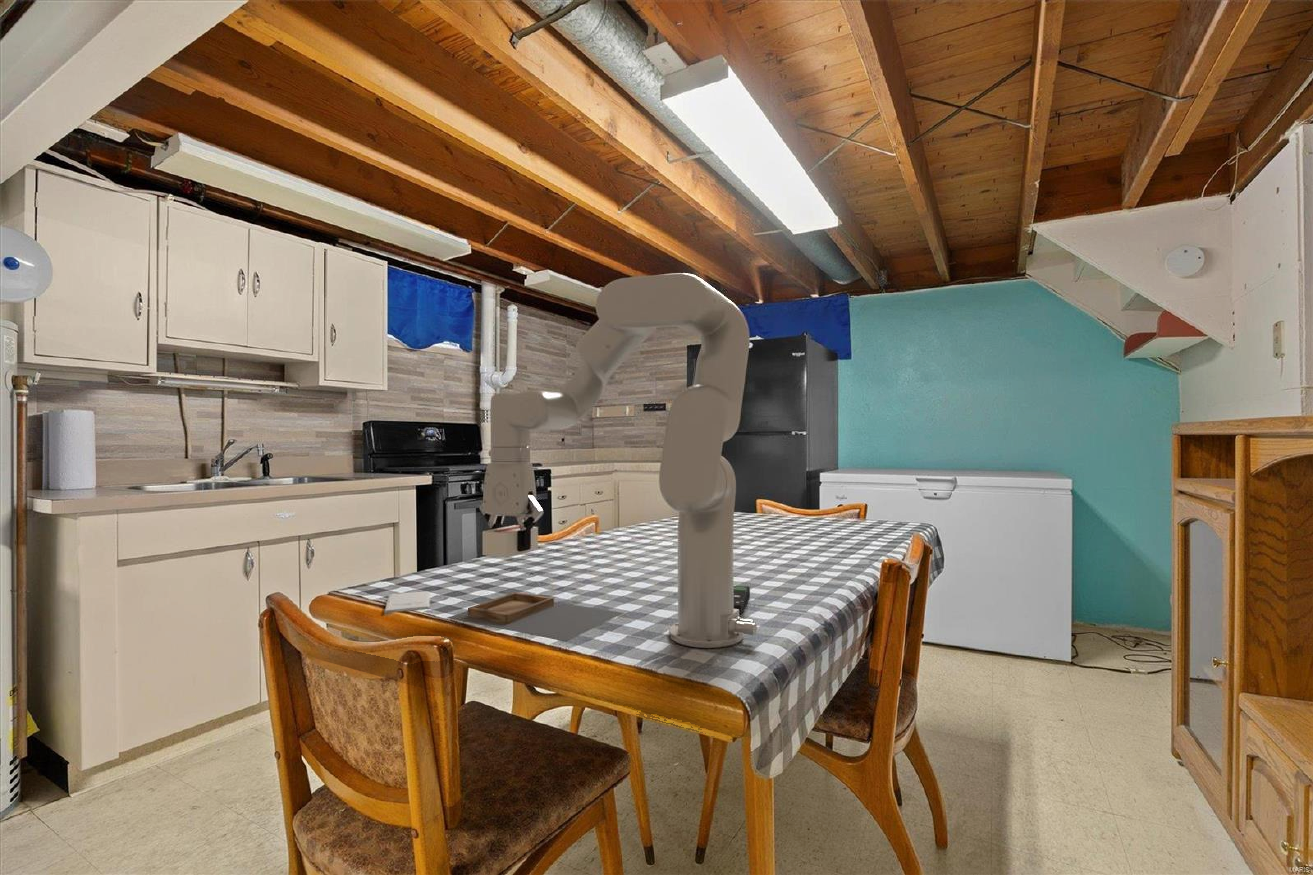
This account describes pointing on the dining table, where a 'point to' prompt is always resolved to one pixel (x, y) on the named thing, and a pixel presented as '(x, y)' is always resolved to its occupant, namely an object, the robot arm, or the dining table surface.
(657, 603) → the dining table surface
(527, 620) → the mat
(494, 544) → the block
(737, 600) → the disk drive
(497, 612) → the tray
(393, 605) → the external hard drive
